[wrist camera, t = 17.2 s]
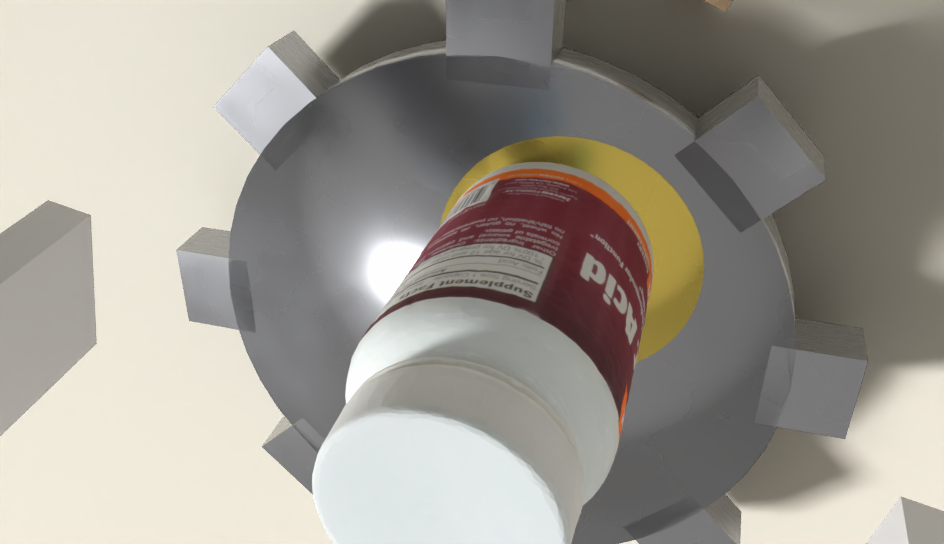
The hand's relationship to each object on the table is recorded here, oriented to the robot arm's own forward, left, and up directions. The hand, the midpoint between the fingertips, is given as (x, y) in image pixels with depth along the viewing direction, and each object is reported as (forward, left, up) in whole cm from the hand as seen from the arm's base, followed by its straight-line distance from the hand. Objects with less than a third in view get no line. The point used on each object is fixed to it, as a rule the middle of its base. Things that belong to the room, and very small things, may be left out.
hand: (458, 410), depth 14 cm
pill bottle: (+1, 0, -7) cm, 7 cm away
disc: (+3, -1, -8) cm, 9 cm away
